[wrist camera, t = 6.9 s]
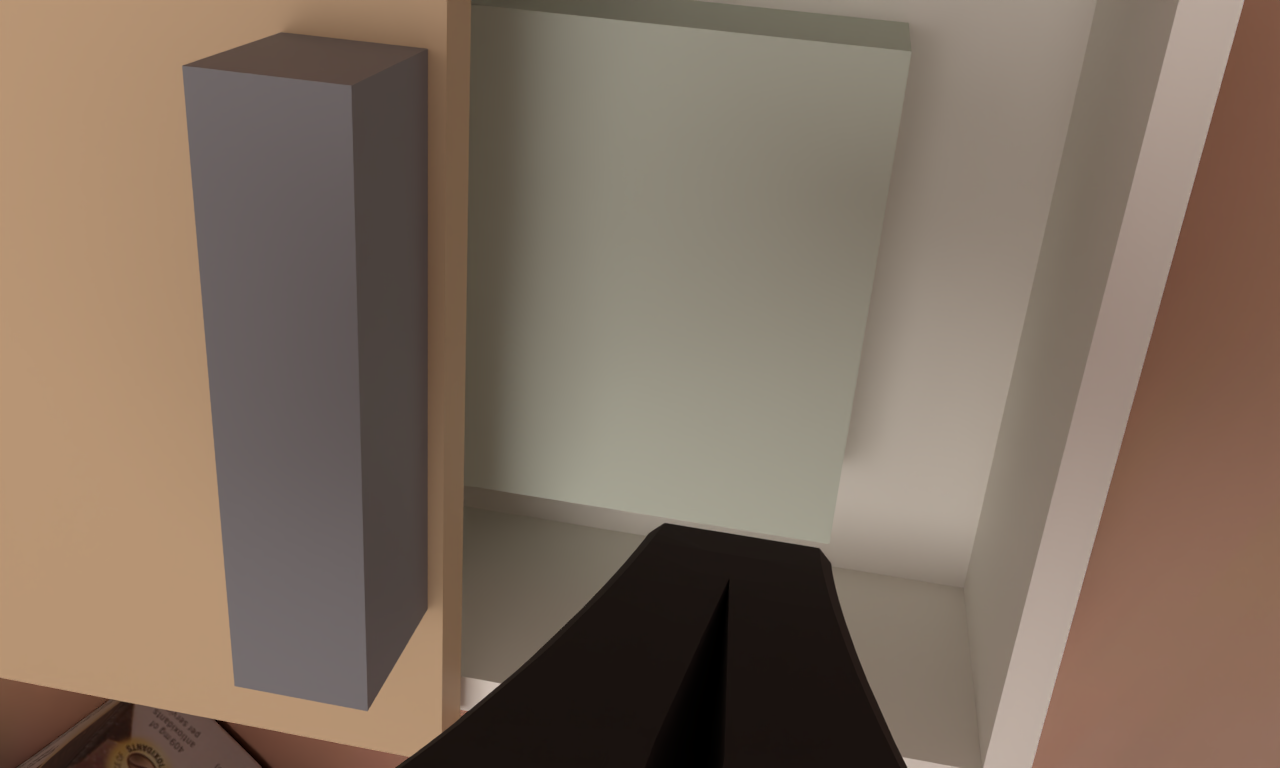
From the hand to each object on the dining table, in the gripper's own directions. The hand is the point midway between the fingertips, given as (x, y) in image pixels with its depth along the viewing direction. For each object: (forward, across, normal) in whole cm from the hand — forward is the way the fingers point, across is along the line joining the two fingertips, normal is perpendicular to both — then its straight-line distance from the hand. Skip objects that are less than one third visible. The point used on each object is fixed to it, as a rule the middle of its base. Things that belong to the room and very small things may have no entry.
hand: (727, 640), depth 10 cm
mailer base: (+10, +3, 0) cm, 11 cm away
